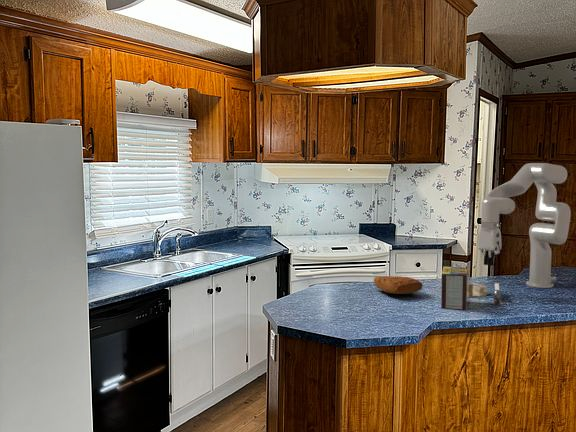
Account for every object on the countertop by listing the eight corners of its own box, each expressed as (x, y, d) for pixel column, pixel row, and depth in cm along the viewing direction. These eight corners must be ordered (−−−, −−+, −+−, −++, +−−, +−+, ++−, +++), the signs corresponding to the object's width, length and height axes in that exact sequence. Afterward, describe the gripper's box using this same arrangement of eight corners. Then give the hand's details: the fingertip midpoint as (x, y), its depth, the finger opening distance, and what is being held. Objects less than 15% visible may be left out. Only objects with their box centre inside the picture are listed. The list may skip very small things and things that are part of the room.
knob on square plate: (496, 301, 231) (497, 288, 231) (505, 304, 227) (506, 291, 226) (488, 303, 229) (488, 289, 229) (497, 305, 225) (497, 292, 224)
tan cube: (479, 293, 247) (479, 284, 247) (486, 295, 243) (487, 287, 243) (472, 294, 245) (472, 285, 245) (479, 296, 241) (479, 288, 241)
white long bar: (499, 302, 230) (499, 290, 230) (494, 301, 231) (495, 290, 230) (498, 294, 243) (498, 283, 243) (494, 294, 244) (494, 283, 243)
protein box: (466, 301, 233) (467, 267, 231) (466, 310, 218) (467, 274, 217) (442, 299, 236) (443, 266, 235) (440, 308, 222) (441, 273, 220)
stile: (468, 295, 243) (468, 282, 242) (472, 296, 240) (473, 284, 239) (463, 295, 242) (464, 283, 241) (468, 297, 239) (468, 284, 238)
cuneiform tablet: (425, 297, 240) (425, 280, 239) (392, 301, 234) (392, 283, 234) (400, 286, 261) (400, 271, 260) (370, 289, 255) (370, 273, 254)
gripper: (509, 226, 231) (508, 267, 233) (483, 223, 245) (482, 261, 247) (496, 227, 228) (495, 269, 230) (471, 224, 242) (470, 262, 244)
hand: (488, 264), depth 238 cm, fingers closed
